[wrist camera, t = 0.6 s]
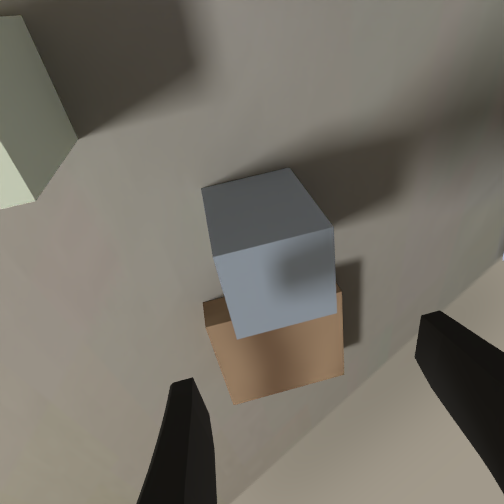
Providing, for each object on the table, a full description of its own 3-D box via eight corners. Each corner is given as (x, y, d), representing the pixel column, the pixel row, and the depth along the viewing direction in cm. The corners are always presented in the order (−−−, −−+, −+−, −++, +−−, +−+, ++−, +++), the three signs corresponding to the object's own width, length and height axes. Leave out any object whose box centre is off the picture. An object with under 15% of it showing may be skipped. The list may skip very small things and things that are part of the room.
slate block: (289, 167, 18) (333, 226, 13) (297, 240, 20) (337, 313, 16) (201, 188, 18) (213, 257, 13) (220, 259, 20) (237, 339, 15)
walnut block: (326, 265, 23) (341, 291, 20) (331, 347, 27) (344, 374, 25) (202, 298, 22) (205, 327, 20) (228, 374, 27) (233, 405, 25)
